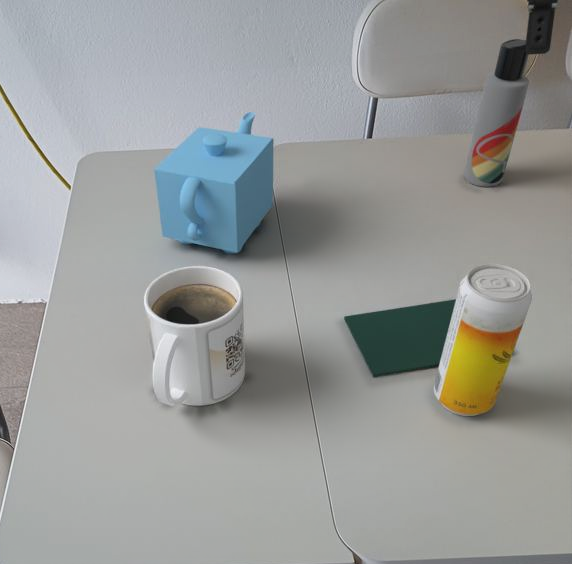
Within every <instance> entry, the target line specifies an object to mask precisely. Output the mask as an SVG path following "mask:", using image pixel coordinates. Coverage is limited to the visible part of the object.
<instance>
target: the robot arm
mask: <svg viewBox="0 0 572 564" xmlns="http://www.w3.org/2000/svg"><path fill="white" fill-rule="evenodd" d="M526 2H527V3H526V8H528V9H527V11H528V21H527V29H526V38H525V40H526V45H525V52H526V53H527V54H529V55H544V54H548V53H549V51H550V50H551V44H552V36H553V30H554V29H553V28H554V20H555V13H556V10H557V9H558V8H557V7H558V6H559V5H560V0H526Z"/></svg>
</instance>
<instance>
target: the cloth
mask: <svg viewBox="0 0 572 564" xmlns="http://www.w3.org/2000/svg"><path fill="white" fill-rule="evenodd" d="M455 302H456V298H455V299H448V300H442V301H436V302H435V301H434V302H429V303H422V304H417V305H410V306H403V307H396V308H390V309H389V308H388V309H383V310H377V311H370V312H365V313H364V312H363V313H358V314H351V315H345V316H344V317H343V319H344V321H345V323H346V325H347V328H348V329H349V331H350V333H351V335H352V337H353V339H354V341H355V344H356V346H357V347H358V349H359V351H360V354H361V355H362V358H363V360H364V362H365V363H366V365H367V367H368V370H369V372H370V373H371V375H372V377H373V378H377V377H382V376H389V375H395V374H400V373H401V374H402V373H406V372H413V371H418V370H419V371H420V370H425V369H432V368H437V367H438V368H439V364H440V360H441V356H442V352H443V348H444V345H445V341H446V337H447V333H448V329H449V325H450V321H451V317H452V314H453V310H454V306H455Z"/></svg>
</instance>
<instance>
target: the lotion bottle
mask: <svg viewBox="0 0 572 564" xmlns="http://www.w3.org/2000/svg"><path fill="white" fill-rule="evenodd" d="M525 45H526V39H521V38H514V39H513V38H512V39H509V40H507V41H504V42H502V43H501V44H500V48H499V52H498V56H497V60H496V63H495V64H496V65H495V69H494V72H491V73H490V74H487V76H486V78H485V81H484V84H483V89H482V93H481V98H480V102H479V106H478V111H477V116H476V120H475V123H474V129H473V133H472V137H471V140H470V145H469V146H470V147H469V151H468V155H467V159H466V164H465V168H464V173H463V174H464V179H465V181H467V183H469V184H471V185H473V186H478V187H482V188H483V187H484V188H487V187H495V186H498V185H500V184H501V183H502V181H503V179H504V176H505V172H506V169H507V167H508V166H507V165H508V162H509V158H510V155H511V151H512V148H513V143H514V140H515V137H516V132H517V129H518V127H519V122H520V118H521V115H522V111H523V107H524V104H525V100H526V96H527V93H528V89H529V85H530V79H529V78H528V77H527V76H526V75H525V71H526V68H527V64H528V60H529V56H530V54H527V53H526V52H525Z"/></svg>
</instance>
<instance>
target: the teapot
mask: <svg viewBox="0 0 572 564" xmlns="http://www.w3.org/2000/svg"><path fill="white" fill-rule="evenodd" d="M255 117H256V113H255V112H253V111H250V112H247V113H245V114H244V115H243V116H242V118H241V119H240V122H239V126H238V128H237V131H236V132H235V131H229V130H222V129H214V128H208V127H201V126H199V127H197V128H196V129H195V130H194V131H193V132H192V133H191V134H190V135H188V136H187V137H186V138H185V139H184V140H183V141H182V142H181V143H180V144H179V145H177V147H176V148H175V149H174V150H172V152H170V153H169V154H168V155H167V156H166V157H165V158H164V159H163V160H162V161H161V162H160V163H159V164H158V165H157V166H156V167H155V169H153V170H154V178H155V187H156V194H157V202H158V210H159V219H160V225H161V233H162V237H163V238H168V239H171V240H172V239H173V240H176V241H179V242H180V243H181V244H184V245H190V244H196V245H200V246H205V247H209V248H212V249H213V248H214V249H218V250H222V251H223V252H224V253H227V254H237V253H239V252H241V251H242V250H243V247H244V244H245V243H246V242H247V240H248V239H249V238H250V236H251V235H252V233H254V231H255V230H256V228H258V227H259V226H260V225H261V221H262V220H263V219H264V217H265V216H266V215H267V213H268V212H269V210H270V209H271V208H272V206H273V205H274V144H275V143H274V142H275V141H274V140H275V139H274V138H273V137H268V136H261V135H255V134H252V128H253V123H254V120H255Z"/></svg>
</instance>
